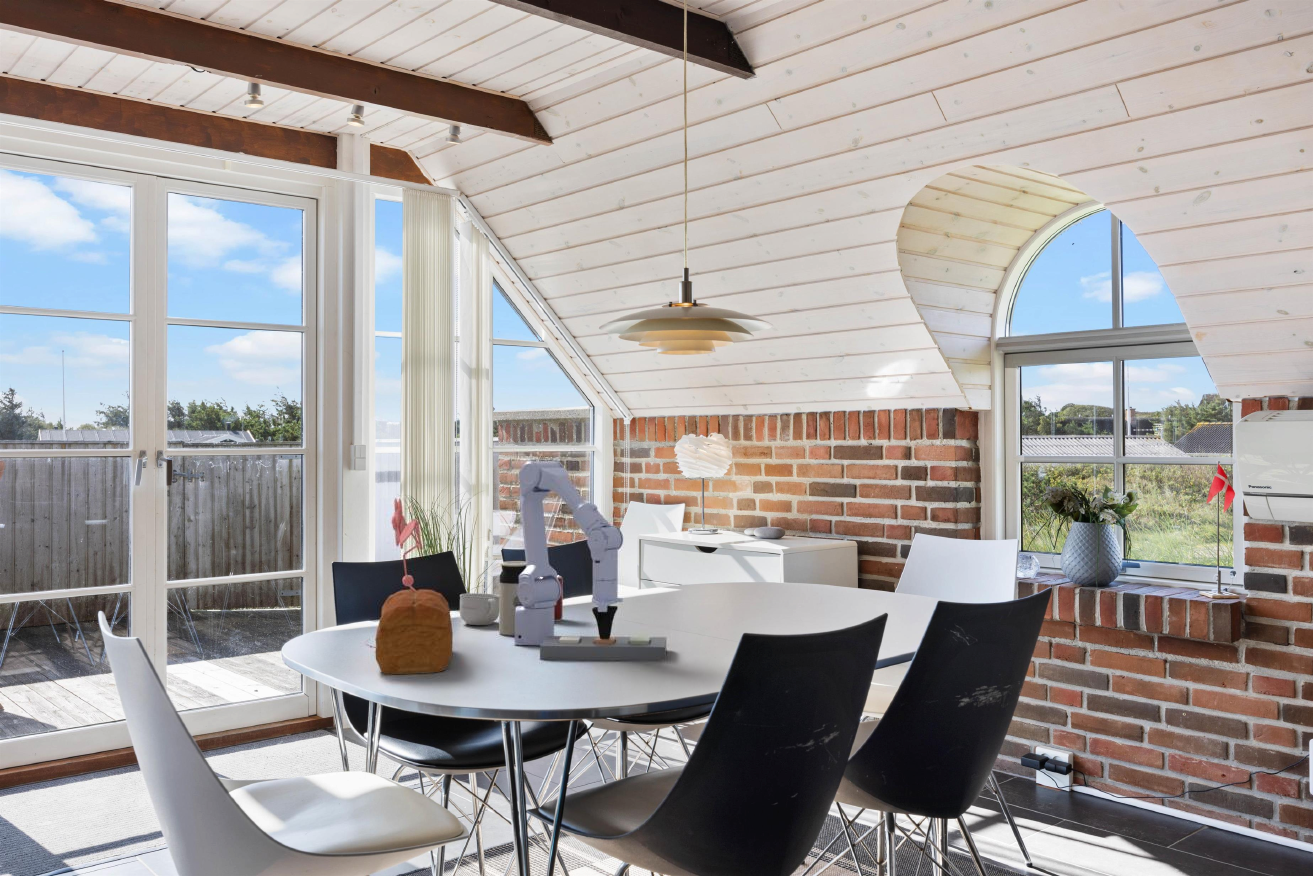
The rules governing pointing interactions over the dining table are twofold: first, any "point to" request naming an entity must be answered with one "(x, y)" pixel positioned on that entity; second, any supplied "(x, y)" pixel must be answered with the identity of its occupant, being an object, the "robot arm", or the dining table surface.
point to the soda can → (558, 603)
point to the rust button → (605, 640)
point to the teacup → (479, 608)
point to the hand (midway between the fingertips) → (604, 638)
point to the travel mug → (509, 595)
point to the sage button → (639, 640)
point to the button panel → (603, 649)
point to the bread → (414, 633)
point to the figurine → (404, 537)
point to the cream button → (570, 639)
